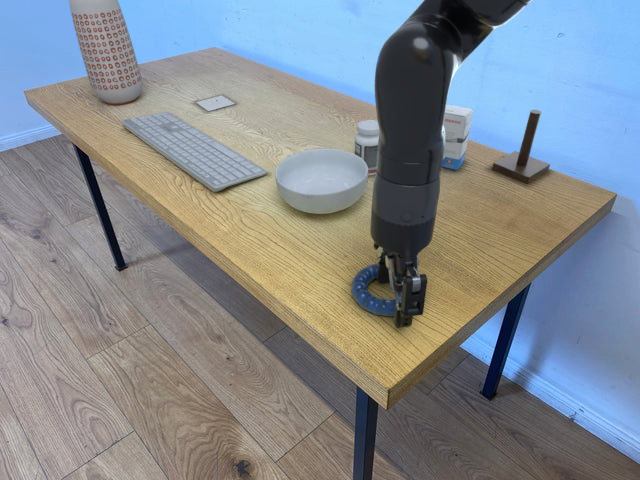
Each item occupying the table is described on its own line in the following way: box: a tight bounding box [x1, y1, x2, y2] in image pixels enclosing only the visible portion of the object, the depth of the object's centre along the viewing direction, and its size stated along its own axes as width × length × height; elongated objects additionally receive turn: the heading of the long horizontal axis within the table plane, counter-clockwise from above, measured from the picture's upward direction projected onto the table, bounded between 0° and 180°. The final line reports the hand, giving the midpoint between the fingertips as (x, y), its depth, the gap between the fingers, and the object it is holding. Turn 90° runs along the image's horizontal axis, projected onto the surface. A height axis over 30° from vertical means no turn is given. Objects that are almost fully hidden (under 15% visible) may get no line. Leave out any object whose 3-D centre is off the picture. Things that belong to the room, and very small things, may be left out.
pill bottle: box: [354, 119, 380, 176], centre depth 95 cm, size 6×6×10 cm
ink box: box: [441, 103, 474, 171], centre depth 97 cm, size 8×5×12 cm, turn 59°
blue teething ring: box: [350, 262, 404, 317], centre depth 68 cm, size 10×10×2 cm
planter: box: [68, 0, 143, 106], centre depth 124 cm, size 13×13×28 cm
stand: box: [491, 109, 551, 185], centre depth 93 cm, size 8×8×12 cm
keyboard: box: [121, 111, 268, 193], centre depth 106 cm, size 44×12×2 cm, turn 41°
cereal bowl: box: [274, 147, 369, 215], centre depth 87 cm, size 17×17×7 cm
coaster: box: [195, 95, 236, 112], centre depth 128 cm, size 8×8×1 cm
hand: (393, 302), depth 65 cm, fingers open, 8 cm apart
